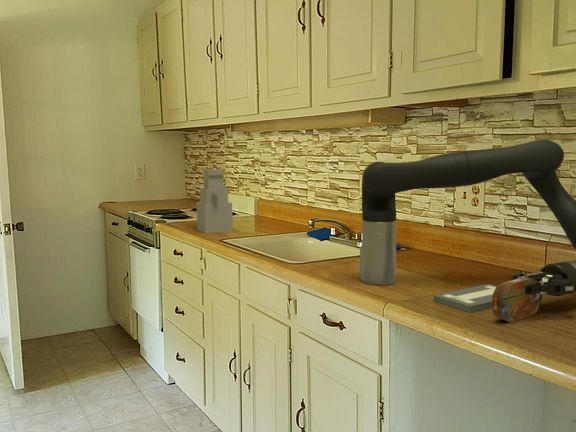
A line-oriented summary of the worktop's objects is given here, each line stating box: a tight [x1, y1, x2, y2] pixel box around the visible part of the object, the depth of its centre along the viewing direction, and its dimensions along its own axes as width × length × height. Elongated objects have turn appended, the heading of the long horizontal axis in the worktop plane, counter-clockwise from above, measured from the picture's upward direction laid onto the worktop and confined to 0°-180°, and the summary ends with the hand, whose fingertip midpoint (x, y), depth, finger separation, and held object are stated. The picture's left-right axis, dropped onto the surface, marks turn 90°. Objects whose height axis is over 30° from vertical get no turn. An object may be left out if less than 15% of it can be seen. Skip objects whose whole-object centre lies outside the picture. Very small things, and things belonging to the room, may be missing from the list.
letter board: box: [433, 283, 498, 314], centre depth 132 cm, size 11×20×2 cm, turn 121°
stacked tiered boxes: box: [196, 168, 234, 234], centre depth 250 cm, size 13×24×28 cm, turn 26°
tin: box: [492, 278, 543, 323], centre depth 118 cm, size 15×3×8 cm, turn 124°
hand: (518, 287), depth 118 cm, fingers open, 3 cm apart
